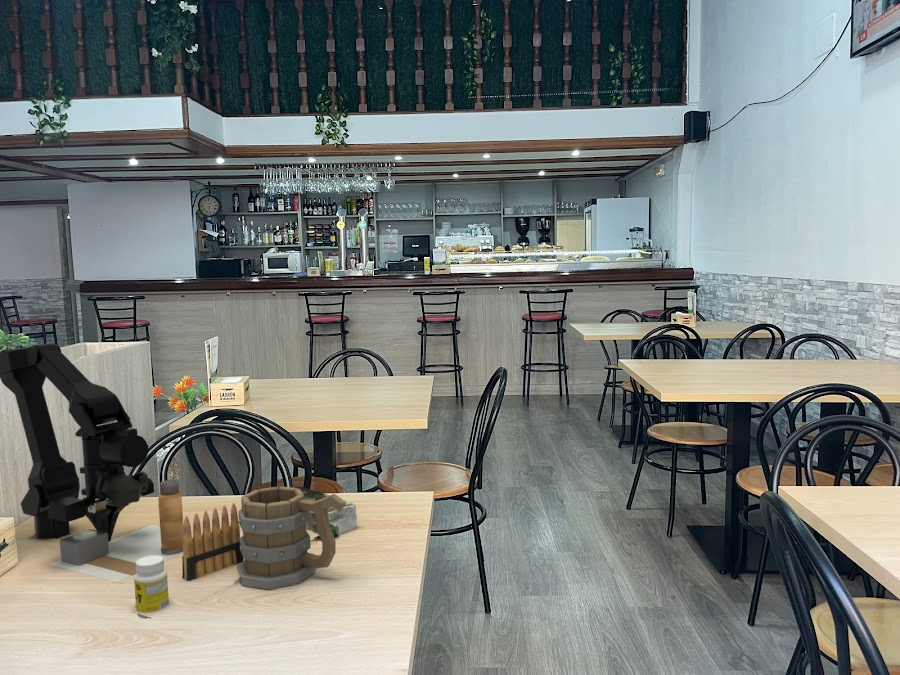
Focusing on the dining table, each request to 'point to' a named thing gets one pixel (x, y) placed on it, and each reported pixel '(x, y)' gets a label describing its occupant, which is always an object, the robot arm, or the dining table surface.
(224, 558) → the ammunition clip
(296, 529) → the tankard
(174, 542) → the tan cylinder
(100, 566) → the floor panel
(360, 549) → the dining table surface
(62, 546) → the grey cube-like block
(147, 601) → the supplement bottle
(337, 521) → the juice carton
